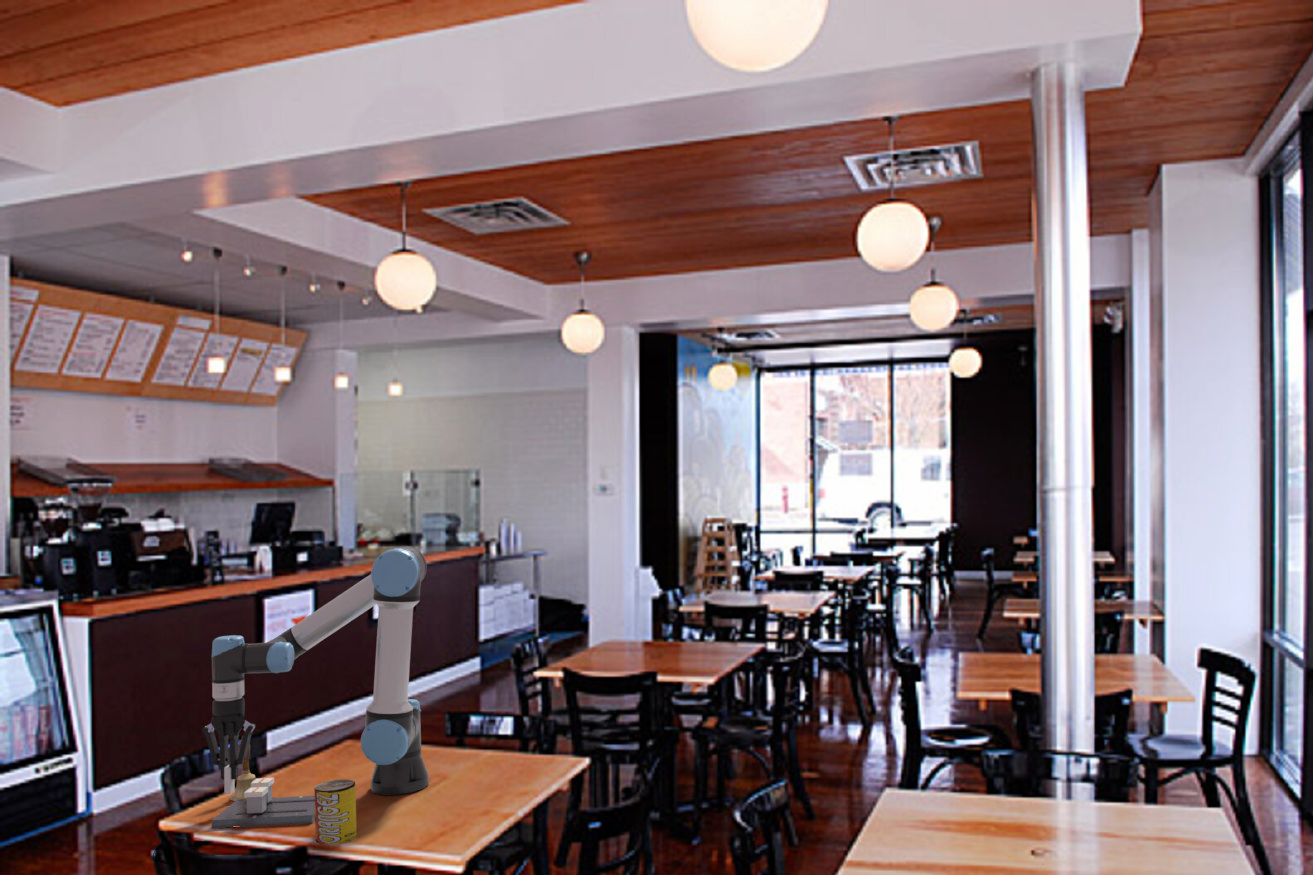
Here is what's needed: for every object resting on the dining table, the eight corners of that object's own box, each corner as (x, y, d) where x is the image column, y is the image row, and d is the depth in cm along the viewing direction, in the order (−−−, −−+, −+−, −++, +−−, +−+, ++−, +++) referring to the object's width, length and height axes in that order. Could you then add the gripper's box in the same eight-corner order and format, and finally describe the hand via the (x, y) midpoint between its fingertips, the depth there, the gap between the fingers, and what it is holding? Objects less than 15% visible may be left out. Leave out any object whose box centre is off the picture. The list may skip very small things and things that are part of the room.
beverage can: (315, 834, 236) (313, 782, 237) (355, 828, 240) (353, 777, 240) (316, 847, 228) (315, 793, 228) (358, 840, 231) (356, 787, 232)
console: (331, 802, 260) (331, 794, 261) (312, 823, 244) (311, 814, 245) (237, 807, 260) (237, 798, 260) (211, 828, 244) (211, 819, 244)
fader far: (274, 798, 258) (274, 776, 258) (269, 803, 254) (268, 781, 254) (257, 799, 258) (256, 777, 258) (251, 804, 254) (250, 782, 254)
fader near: (268, 807, 250) (268, 785, 250) (262, 813, 246) (262, 790, 247) (250, 808, 250) (250, 786, 250) (244, 814, 246) (244, 791, 246)
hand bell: (251, 802, 264) (250, 740, 265) (223, 801, 266) (221, 740, 266) (270, 792, 272) (268, 732, 273) (242, 791, 274) (240, 732, 274)
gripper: (196, 701, 253) (197, 797, 252) (248, 700, 254) (250, 795, 252) (208, 695, 261) (209, 788, 260) (259, 693, 261) (261, 786, 260)
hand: (229, 791), depth 256 cm, fingers closed
